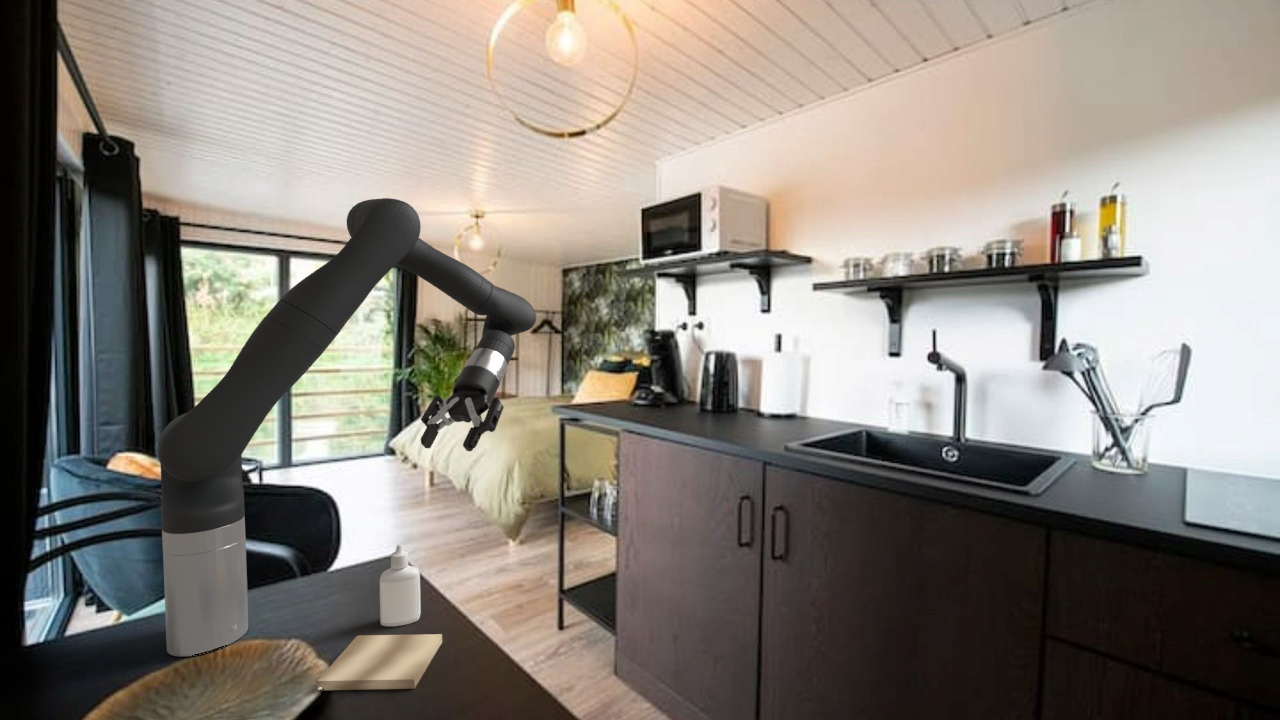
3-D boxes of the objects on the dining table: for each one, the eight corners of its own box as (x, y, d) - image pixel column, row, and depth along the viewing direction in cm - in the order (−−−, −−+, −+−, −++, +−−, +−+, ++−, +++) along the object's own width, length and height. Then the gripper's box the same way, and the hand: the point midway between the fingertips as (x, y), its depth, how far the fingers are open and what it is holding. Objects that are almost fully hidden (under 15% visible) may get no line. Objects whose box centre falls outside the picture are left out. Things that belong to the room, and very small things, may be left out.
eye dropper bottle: (407, 630, 79) (406, 551, 79) (375, 626, 80) (373, 548, 80) (425, 615, 83) (424, 540, 83) (394, 611, 85) (392, 537, 84)
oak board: (317, 690, 66) (316, 681, 66) (357, 643, 76) (357, 635, 76) (414, 688, 66) (414, 679, 66) (442, 642, 76) (442, 634, 76)
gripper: (441, 363, 102) (400, 433, 91) (507, 364, 98) (472, 437, 87) (458, 388, 107) (421, 456, 97) (521, 389, 103) (490, 461, 93)
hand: (445, 447), depth 92 cm, fingers open, 8 cm apart
